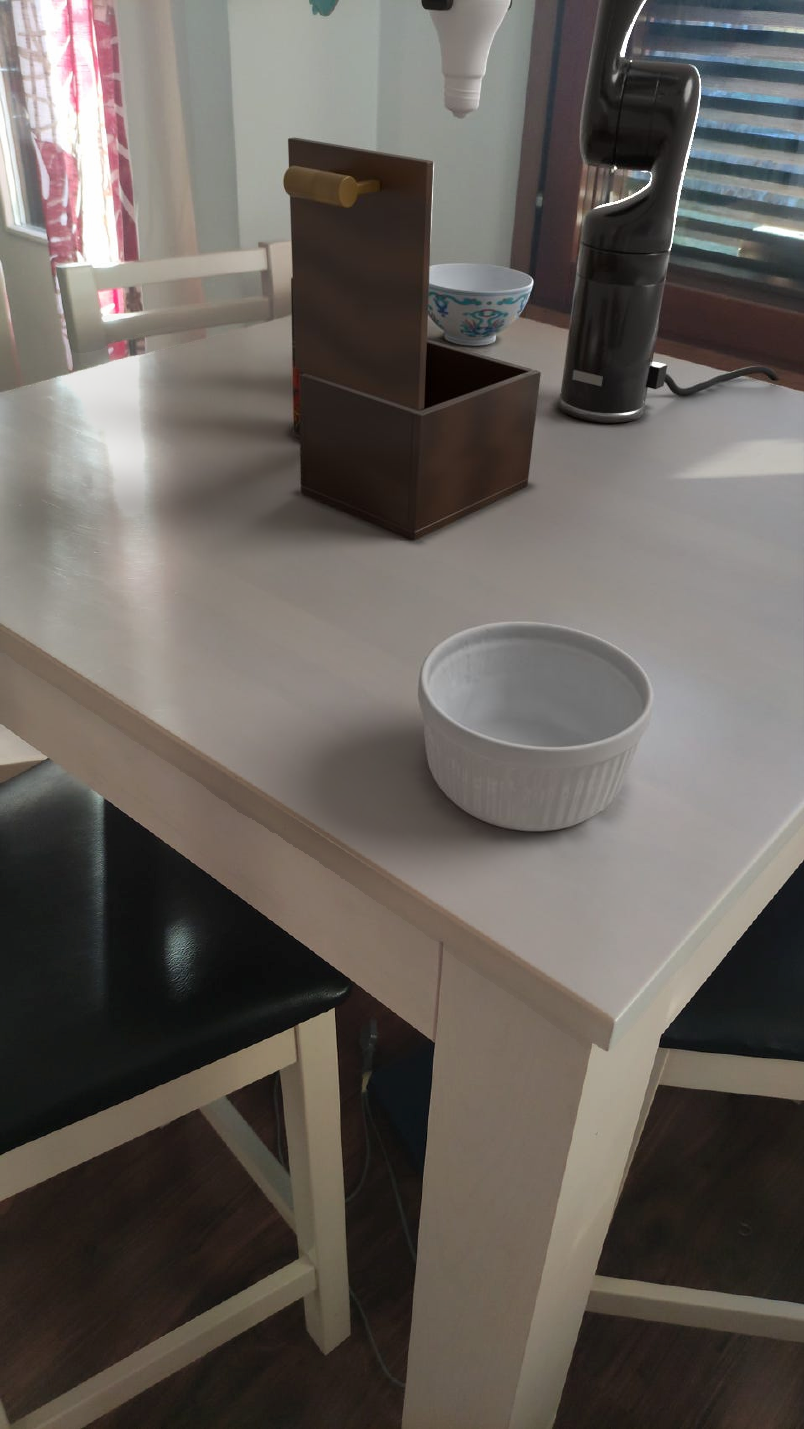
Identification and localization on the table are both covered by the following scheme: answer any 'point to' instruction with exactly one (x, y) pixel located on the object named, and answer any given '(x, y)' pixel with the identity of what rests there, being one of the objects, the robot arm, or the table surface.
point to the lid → (361, 267)
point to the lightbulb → (466, 49)
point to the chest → (420, 442)
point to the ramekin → (531, 722)
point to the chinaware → (476, 300)
